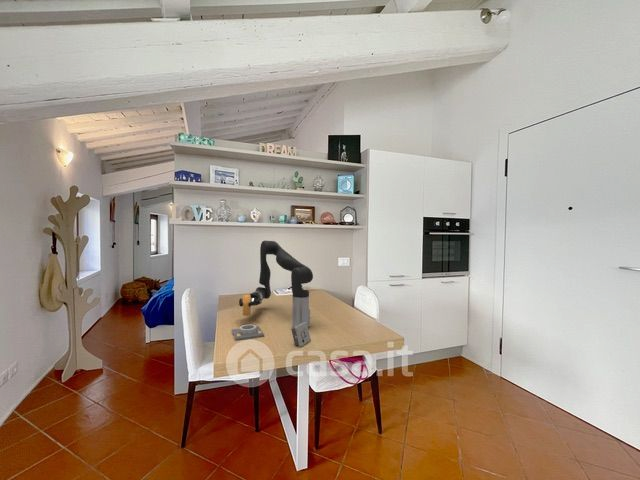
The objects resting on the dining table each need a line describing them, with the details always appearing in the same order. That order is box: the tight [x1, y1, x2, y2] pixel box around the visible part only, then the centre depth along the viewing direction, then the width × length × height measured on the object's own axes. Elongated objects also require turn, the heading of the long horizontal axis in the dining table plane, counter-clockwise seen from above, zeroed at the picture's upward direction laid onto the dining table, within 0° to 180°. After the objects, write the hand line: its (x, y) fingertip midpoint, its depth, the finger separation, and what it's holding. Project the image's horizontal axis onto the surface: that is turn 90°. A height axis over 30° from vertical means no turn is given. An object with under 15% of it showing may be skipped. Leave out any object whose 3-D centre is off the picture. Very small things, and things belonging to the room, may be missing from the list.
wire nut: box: [242, 294, 252, 317], centre depth 155 cm, size 4×4×11 cm
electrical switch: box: [291, 322, 312, 348], centre depth 130 cm, size 9×5×9 cm, turn 152°
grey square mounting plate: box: [231, 323, 265, 342], centre depth 140 cm, size 14×14×4 cm
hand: (244, 304), depth 153 cm, fingers closed on wire nut, 4 cm apart
